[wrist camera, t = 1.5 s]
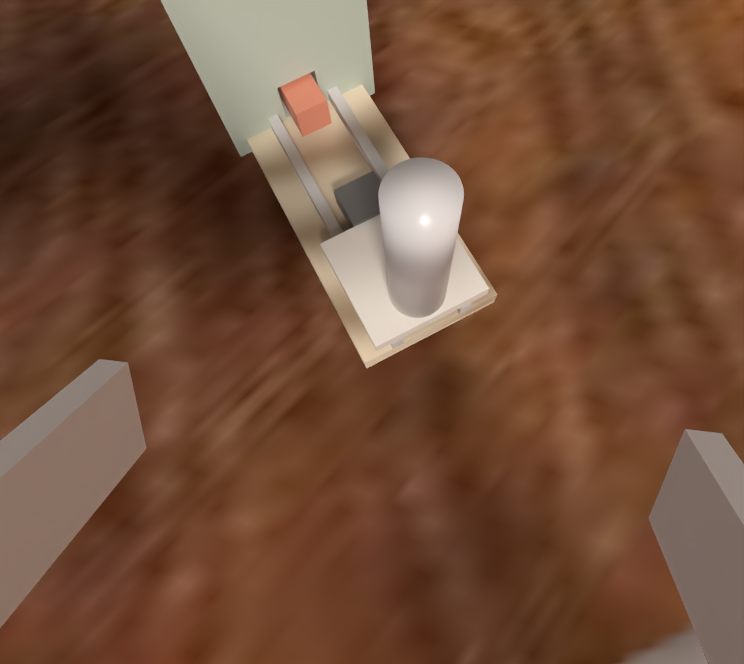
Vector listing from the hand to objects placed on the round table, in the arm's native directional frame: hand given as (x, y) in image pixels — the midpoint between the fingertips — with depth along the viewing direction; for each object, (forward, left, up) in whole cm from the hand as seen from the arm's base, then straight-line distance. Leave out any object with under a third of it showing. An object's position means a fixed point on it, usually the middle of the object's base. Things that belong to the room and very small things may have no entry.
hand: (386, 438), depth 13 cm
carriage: (-13, +6, -19) cm, 24 cm away
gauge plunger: (-27, +6, -19) cm, 33 cm away
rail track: (-17, +6, -22) cm, 28 cm away
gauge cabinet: (-29, +6, -22) cm, 37 cm away
